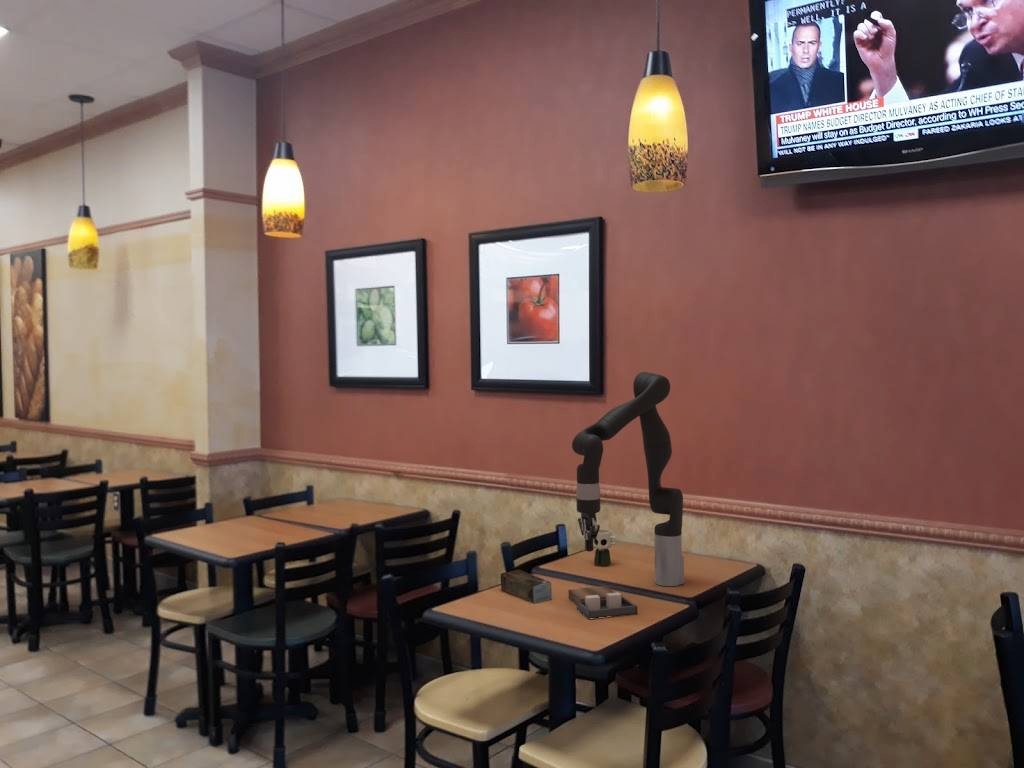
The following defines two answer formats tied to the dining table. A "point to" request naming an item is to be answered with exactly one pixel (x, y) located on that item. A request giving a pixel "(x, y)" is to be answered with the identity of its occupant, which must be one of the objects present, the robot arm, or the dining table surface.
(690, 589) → the dining table surface
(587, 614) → the tray
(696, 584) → the dining table surface
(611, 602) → the tile
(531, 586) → the beverage carton
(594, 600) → the tile
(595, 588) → the flat wooden board
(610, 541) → the character mug
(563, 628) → the dining table surface
